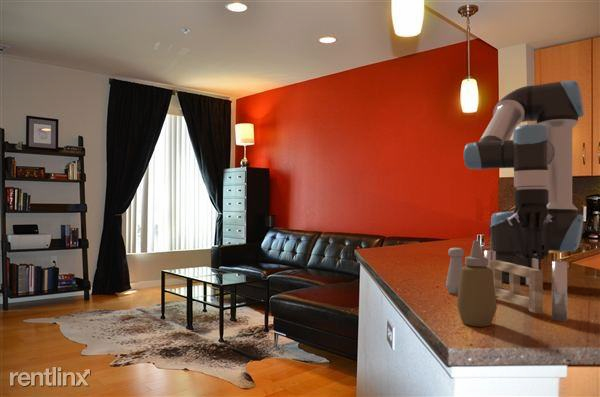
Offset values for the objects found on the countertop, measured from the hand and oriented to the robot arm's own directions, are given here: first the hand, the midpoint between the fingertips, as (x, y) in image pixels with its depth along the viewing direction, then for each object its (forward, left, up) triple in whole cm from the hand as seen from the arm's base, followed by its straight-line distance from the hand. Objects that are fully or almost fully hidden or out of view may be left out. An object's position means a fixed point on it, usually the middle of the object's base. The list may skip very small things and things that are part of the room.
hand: (532, 285), depth 110 cm
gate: (+3, -3, -5) cm, 6 cm away
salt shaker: (+5, -22, -6) cm, 24 cm away
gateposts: (+1, -2, -6) cm, 7 cm away
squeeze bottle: (+21, +6, -6) cm, 23 cm away
